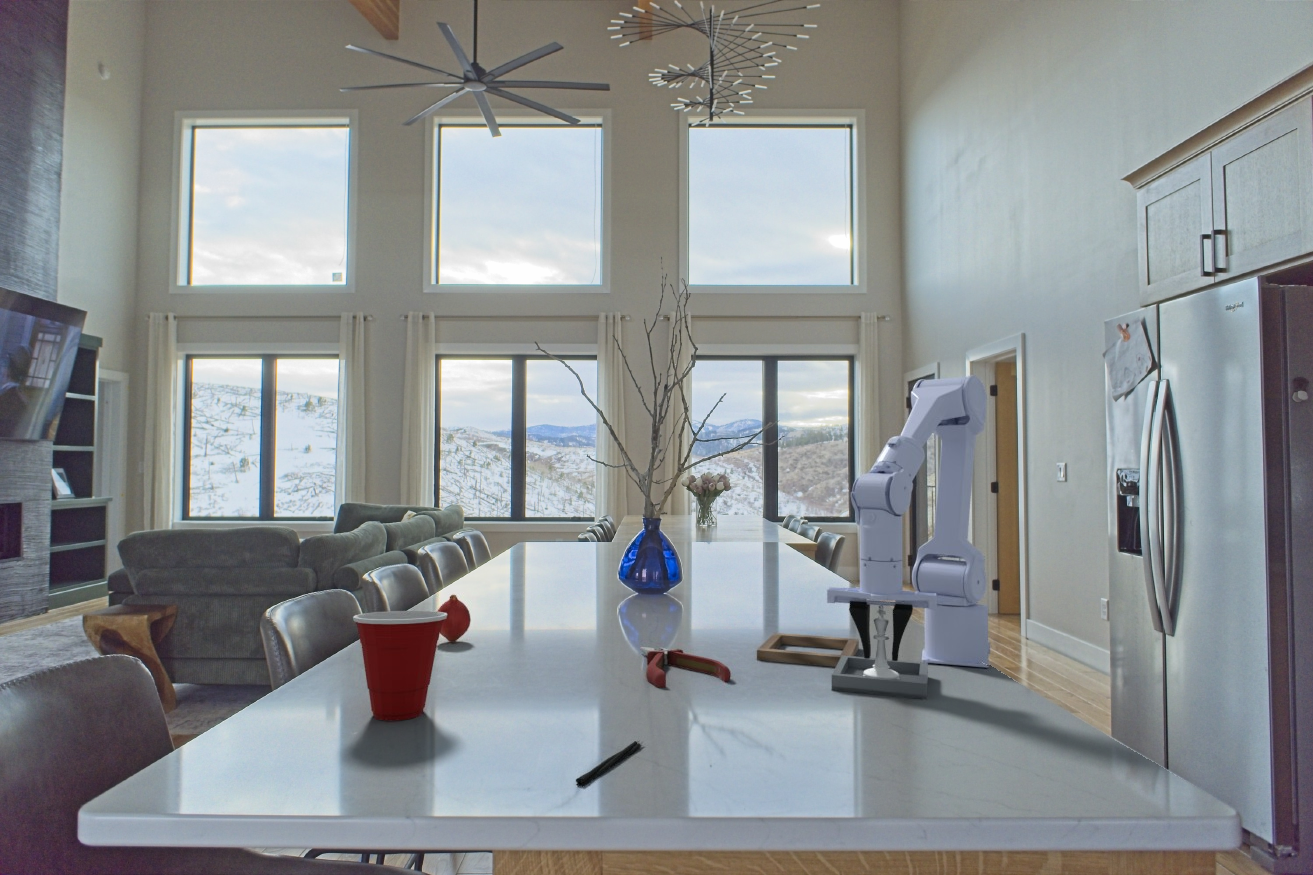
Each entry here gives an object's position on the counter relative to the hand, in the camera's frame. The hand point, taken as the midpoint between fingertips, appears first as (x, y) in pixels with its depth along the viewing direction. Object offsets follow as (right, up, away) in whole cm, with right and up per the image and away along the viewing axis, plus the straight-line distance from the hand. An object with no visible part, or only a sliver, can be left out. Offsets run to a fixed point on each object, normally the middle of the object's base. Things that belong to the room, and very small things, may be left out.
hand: (881, 658), depth 110 cm
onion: (-65, -4, +23) cm, 69 cm away
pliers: (-27, -4, +7) cm, 29 cm away
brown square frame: (-7, -4, +17) cm, 19 cm away
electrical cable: (-35, -2, -31) cm, 47 cm away
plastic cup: (-62, -3, -15) cm, 64 cm away
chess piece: (0, -3, +1) cm, 3 cm away
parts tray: (0, -3, 0) cm, 3 cm away
